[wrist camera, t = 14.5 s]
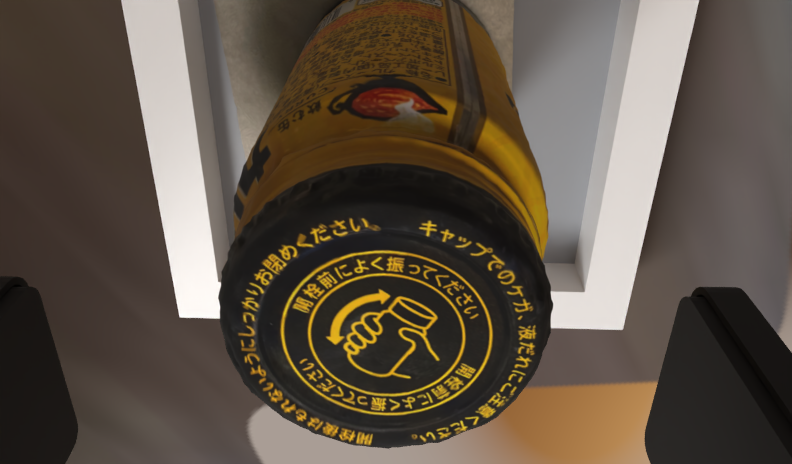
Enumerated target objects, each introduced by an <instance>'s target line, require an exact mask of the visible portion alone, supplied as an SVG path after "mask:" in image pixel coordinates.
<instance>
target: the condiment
mask: <svg viewBox="0 0 792 464" xmlns="http://www.w3.org/2000/svg"><path fill="white" fill-rule="evenodd" d="M213 1H214V5H215V11H216V16H217V20H218V24H219V30H220V34H221V40H222V44H223V49H224V54H225V58H226V62H227V67H228V71H229V77H230V83H231V88H232V93H233V98H234V103H235V106H236V107H237V117H238V124H239V129H240V133H241V140H242V145H243V149H244V153H245V158H246V163H245V164H244V165H243V169H242V173H241V177H240V180H239V182H238V185H237V192H236V193H235V195H234V210H233V217H234V227H235V233H234V235H235V238H234V242H233V243H232V245H231V247H230V250H229V251H228V260H227V262H226V264H225V266H224V268H223V270H222V272H221V273H222V278H221V287H220V291H219V295H218V299H219V303H220V324H221V328H222V332H223V335H224V339H225V344H226V349H227V352H228V354H229V356H230V358H231V360H232V363H233V364H234V366H235V368H236V370H237V371H238V372H239V374H240V375H241V377H242V379H243V382H244V384H245V385H246V386H247V387H248V388H249V389H250V391H251V392H252V393H254V394H255V395H256V396H258V397H259V398H260V399H261V400H262V401H264V402H265V403H266V404H267V405H268V406H269V407H271V408H272V409H273V410H274V411H276V412H277V413H279V414H280V415H281V416H282V417H283V418H285V419H287V420H289V421H291V422H293V423H295V424H297V425H299V426H300V427H303V428H306V429H308V430H310V431H311V432H313V433H315V434H319V435H323V436H326V437H329V438H332V439H335V440H338V441H341V442H345V443H348V444H352V445H360V446H361V445H362V446H368V447H381V448H391V447H403V446H411V445H423V444H426V443H438V442H441V441H444V440H447V439H449V438H451V437H453V436H455V435H458V434H460V433H462V432H465V431H467V430H470V429H473V428H476V427H479V426H482V425H484V424H486V423H488V422H490V421H491V420H493V419H494V418H496V417H497V416H499V414H500V413H501V412H502V411H503V410H505V409H506V408H507V407H508V406H509V405H510V404H511V403H512V402H513V401H514V400H516V398H517V397H518V395H519V394H520V393H521V392H522V390H523V389H524V388H525V386H526V385H527V384H528V382H529V381H530V380H531V378H532V377H533V375H534V374H535V372H536V370H537V368H538V365H539V362H540V359H541V357H542V352H543V350H544V348H545V346H546V344H547V341H548V338H549V335H550V333H551V313H552V310H553V302H552V299H551V285H550V282H549V279H548V277H547V275H546V270H545V265H544V263H543V262H542V260H543V257H544V252H545V247H546V244H547V240H548V237H549V236H548V225H549V220H548V209H547V206H546V193H545V191H544V187H543V182H542V177H541V173H540V171H539V168H538V165H537V162H536V160H535V157H534V155H533V153H532V151H531V149H530V145H529V141H528V140H527V137H526V135H525V133H524V130H523V126H522V124H521V120H520V118H519V113H518V109H517V107H516V103H515V100H514V97H513V94H512V68H513V20H514V0H213Z"/></svg>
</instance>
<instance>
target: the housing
mask: <svg viewBox="0 0 792 464" xmlns="http://www.w3.org/2000/svg"><path fill="white" fill-rule="evenodd" d="M121 2H122V7H123V12H124V18H125V23H126V29H127V34H128V40H129V45H130V50H131V56H132V61H133V67H134V72H135V78H136V83H137V89H138V94H139V99H140V105H141V110H142V116H143V121H144V127H145V132H146V137H147V143H148V148H149V154H150V159H151V165H152V170H153V176H154V181H155V186H156V192H157V197H158V203H159V208H160V214H161V219H162V224H163V230H164V235H165V241H166V246H167V252H168V257H169V262H170V268H171V273H172V279H173V284H174V290H175V295H176V301H177V306H178V311H179V317H183V318H219V319H220V303H219V299H218V295H219V291H220V287H221V278H222V273H221V272H222V270H223V268H224V266H225V264H226V262H227V260H228V251H229V250H230V247H231V245H232V243H233V242H234V238H235V235H234V233H235V227H234V217H233V210H234V195H235V193H236V192H237V185H238V182H239V180H240V177H241V173H242V169H243V165H244V164H245V163H246V158H245V153H244V149H243V145H242V140H241V133H240V129H239V124H238V117H237V107H236V106H235V103H234V98H233V93H232V88H231V83H230V77H229V71H228V67H227V62H226V58H225V54H224V49H223V44H222V40H221V34H220V30H219V24H218V20H217V16H216V11H215V5H214V1H213V0H121ZM698 3H699V0H514V20H513V68H512V94H513V97H514V100H515V103H516V107H517V109H518V113H519V118H520V120H521V124H522V126H523V130H524V133H525V135H526V137H527V140H528V141H529V145H530V149H531V151H532V153H533V155H534V157H535V160H536V162H537V165H538V168H539V171H540V173H541V177H542V182H543V187H544V191H545V193H546V206H547V209H548V220H549V225H548V236H549V237H548V240H547V244H546V247H545V252H544V257H543V260H542V262H543V263H544V265H545V270H546V275H547V277H548V279H549V282H550V285H551V299H552V302H553V310H552V313H551V328H572V329H607V330H623V326H624V322H625V318H626V314H627V309H628V305H629V301H630V296H631V292H632V288H633V283H634V279H635V275H636V270H637V266H638V262H639V258H640V253H641V249H642V245H643V240H644V236H645V232H646V227H647V223H648V219H649V214H650V210H651V206H652V202H653V197H654V193H655V189H656V184H657V180H658V176H659V171H660V167H661V163H662V158H663V154H664V150H665V146H666V141H667V137H668V133H669V128H670V124H671V120H672V115H673V111H674V107H675V102H676V98H677V94H678V90H679V85H680V81H681V77H682V72H683V68H684V64H685V59H686V55H687V51H688V46H689V42H690V38H691V34H692V29H693V25H694V21H695V16H696V12H697V8H698Z"/></svg>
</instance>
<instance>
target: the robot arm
mask: <svg viewBox="0 0 792 464" xmlns="http://www.w3.org/2000/svg"><path fill="white" fill-rule="evenodd" d="M77 433H78V424H77V419H76V416H75V412H74V409H73V406H72V402H71V399H70V395H69V392H68V388H67V385H66V382H65V378H64V375H63V371H62V368H61V365H60V361H59V358H58V354H57V351H56V348H55V344H54V341H53V337H52V334H51V330H50V327H49V324H48V320H47V317H46V313H45V310H44V307H43V303H42V300H41V296H40V294H39V292H38V290H37V289H36V288H34V287H29V286H28V284H27V282H26V281H25V280H24V279H23V278H20V277H0V464H65V463H66V461H67V459H68V457H69V455H70V454H71V452H72V450H73V448H74V445H75V443H76V439H77ZM645 447H646V452H647V455H648V458H649V460H650V463H651V464H792V353H791V351H790V350H789V349H788V348H787V346H786V345H785V344H784V342H783V341H782V340H781V338H780V337H779V336H778V335H777V333H776V332H775V331H774V329H773V328H772V327H771V325H770V324H769V323H768V322H767V320H766V319H765V318H764V316H763V315H762V314H761V312H760V311H759V310H758V309H757V307H756V306H755V305H754V303H753V302H752V301H751V299H750V298H749V297H748V296H747V294H746V293H745V292H744V291H743V290H742V289H740V288H736V287H698V288H696V289H695V290H694V292H693V293H692V295H691V297H684V298H682V299H681V301H680V303H679V306H678V310H677V313H676V317H675V321H674V325H673V328H672V332H671V336H670V340H669V343H668V347H667V351H666V355H665V358H664V362H663V366H662V370H661V373H660V377H659V381H658V384H657V388H656V392H655V396H654V400H653V403H652V407H651V411H650V415H649V418H648V422H647V426H646V430H645Z"/></svg>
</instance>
